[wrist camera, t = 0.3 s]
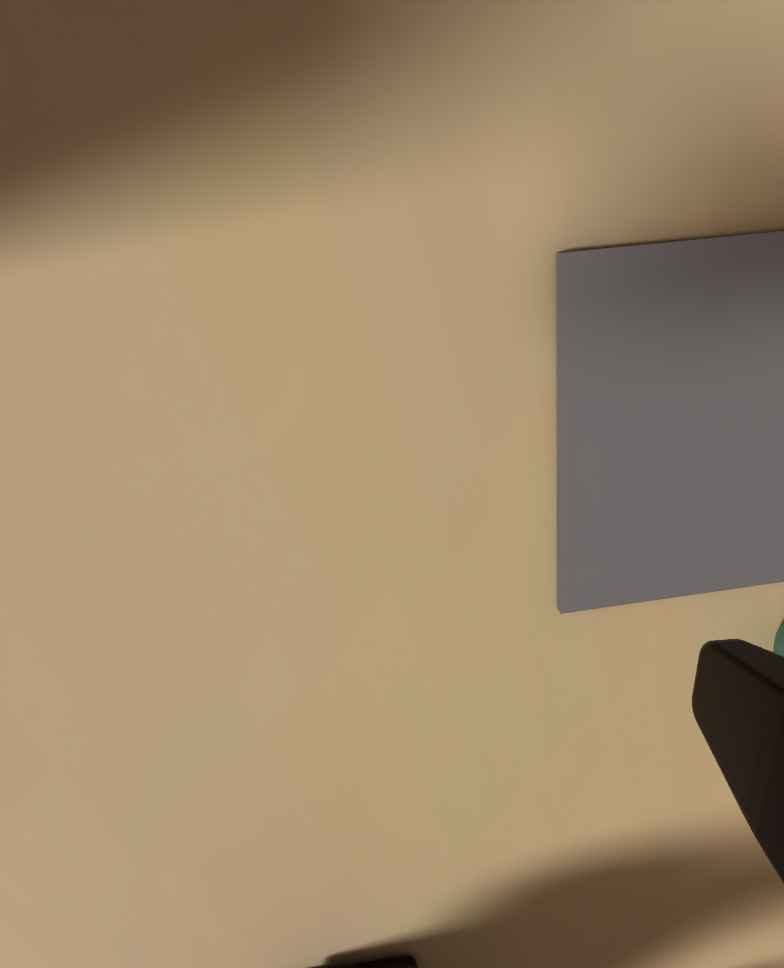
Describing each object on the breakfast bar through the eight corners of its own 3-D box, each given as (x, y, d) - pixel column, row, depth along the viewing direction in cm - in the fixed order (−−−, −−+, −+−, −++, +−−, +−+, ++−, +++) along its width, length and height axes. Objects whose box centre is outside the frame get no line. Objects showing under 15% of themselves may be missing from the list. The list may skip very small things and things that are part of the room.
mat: (795, 573, 26) (802, 578, 25) (557, 607, 25) (560, 613, 25) (842, 224, 21) (851, 224, 21) (556, 252, 21) (561, 253, 20)
